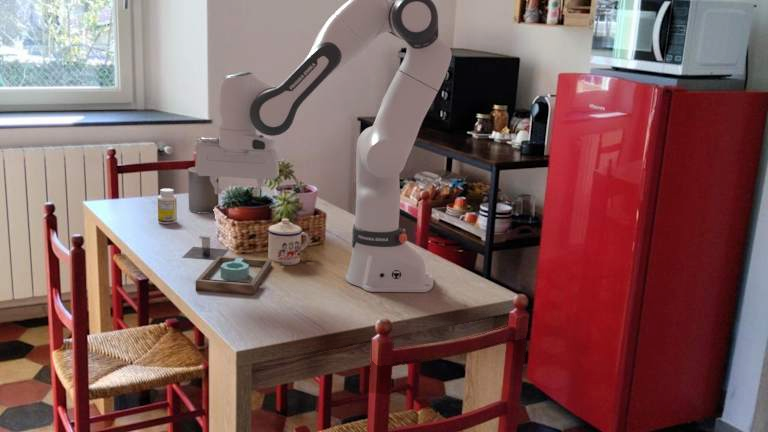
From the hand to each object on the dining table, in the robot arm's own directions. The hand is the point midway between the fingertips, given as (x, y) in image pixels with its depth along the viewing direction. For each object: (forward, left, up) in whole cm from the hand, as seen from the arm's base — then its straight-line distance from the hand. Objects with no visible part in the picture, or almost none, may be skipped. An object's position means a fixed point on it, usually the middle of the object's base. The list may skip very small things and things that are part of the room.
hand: (237, 195), depth 201 cm
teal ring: (0, +2, -20) cm, 20 cm away
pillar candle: (+26, -61, -21) cm, 70 cm away
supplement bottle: (+32, -43, -21) cm, 58 cm away
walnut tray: (-1, +4, -21) cm, 21 cm away
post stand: (+11, -12, -21) cm, 27 cm away
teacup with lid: (-11, -15, -21) cm, 28 cm away
